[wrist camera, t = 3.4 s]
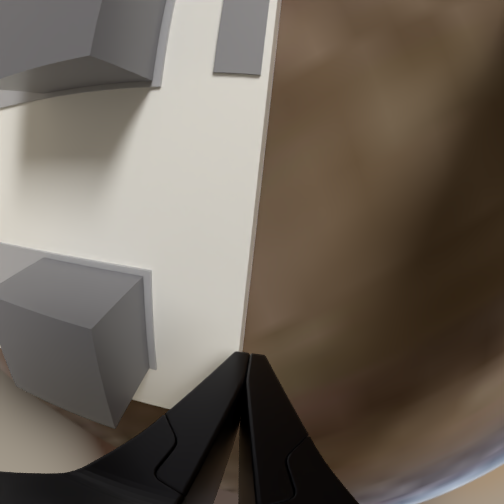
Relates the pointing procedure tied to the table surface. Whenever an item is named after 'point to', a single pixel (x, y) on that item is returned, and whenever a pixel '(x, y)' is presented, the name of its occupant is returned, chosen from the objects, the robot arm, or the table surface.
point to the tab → (75, 336)
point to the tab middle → (77, 43)
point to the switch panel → (154, 182)
